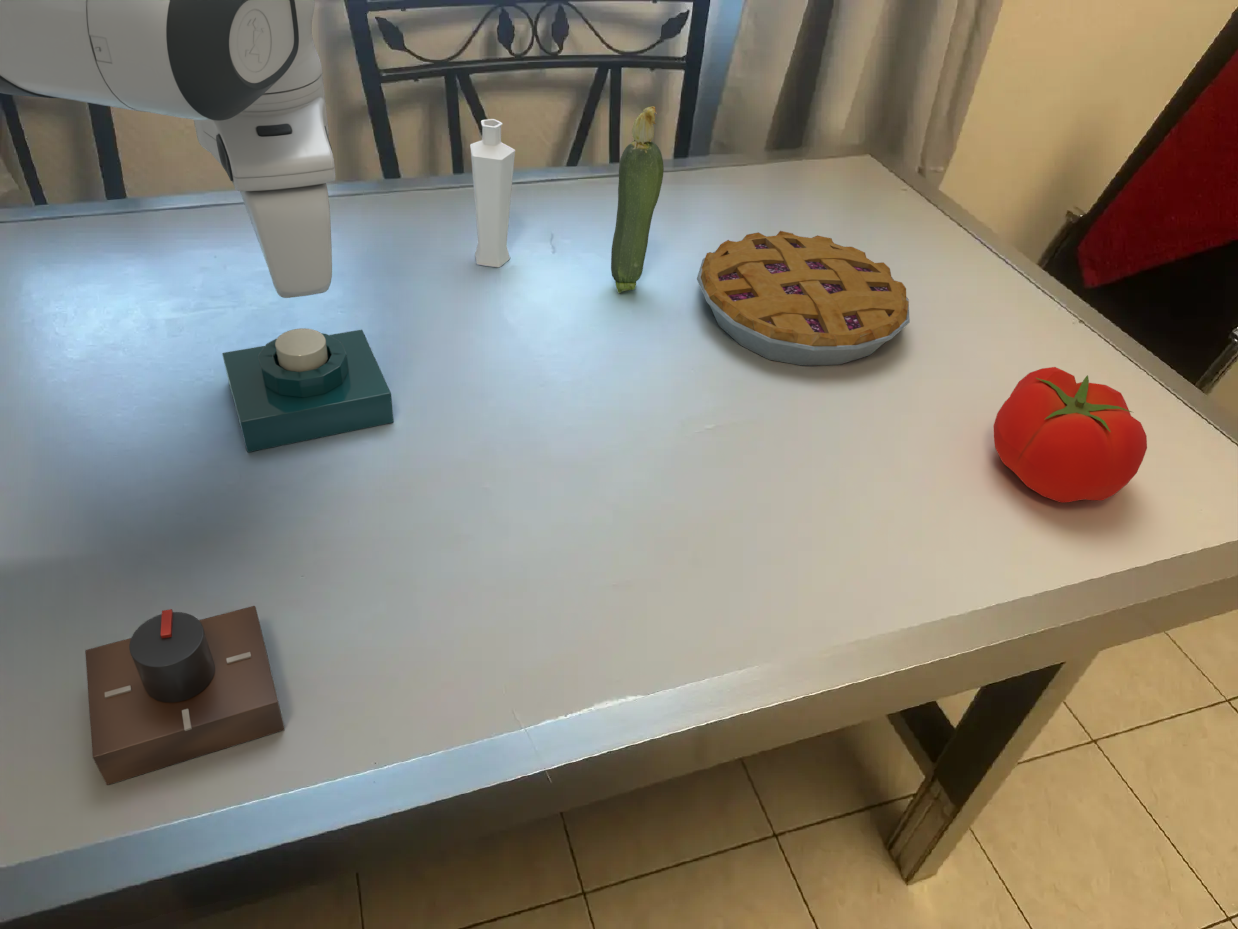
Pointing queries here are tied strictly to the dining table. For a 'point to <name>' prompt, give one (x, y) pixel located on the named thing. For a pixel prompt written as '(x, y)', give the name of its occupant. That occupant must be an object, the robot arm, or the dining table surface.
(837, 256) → the pie
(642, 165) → the vegetable
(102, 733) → the dial panel
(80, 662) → the dining table surface
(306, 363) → the cream push button
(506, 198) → the perfume bottle
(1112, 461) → the tomato
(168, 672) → the dial
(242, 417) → the teal push button box
